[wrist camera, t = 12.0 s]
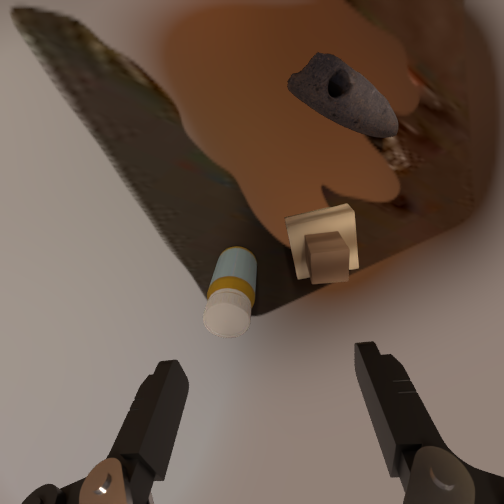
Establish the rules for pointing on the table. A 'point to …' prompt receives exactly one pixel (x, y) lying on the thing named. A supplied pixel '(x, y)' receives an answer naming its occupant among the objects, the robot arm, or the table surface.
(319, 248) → the walnut block
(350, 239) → the plinth
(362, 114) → the perforated stone tool
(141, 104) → the table surface
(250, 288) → the bottle
